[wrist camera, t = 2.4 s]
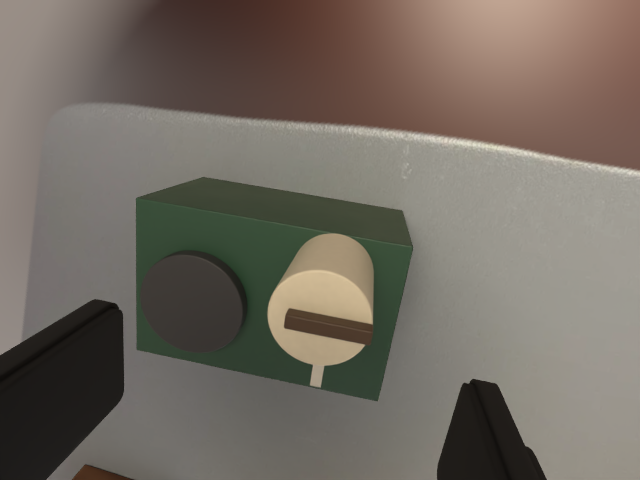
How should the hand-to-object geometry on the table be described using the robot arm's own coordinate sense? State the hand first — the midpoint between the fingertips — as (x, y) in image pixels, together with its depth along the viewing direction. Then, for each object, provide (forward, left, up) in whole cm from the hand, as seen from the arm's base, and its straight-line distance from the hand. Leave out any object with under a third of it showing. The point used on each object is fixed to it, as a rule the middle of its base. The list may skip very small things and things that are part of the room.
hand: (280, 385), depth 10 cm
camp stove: (-4, -1, -17) cm, 18 cm away
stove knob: (0, 0, -9) cm, 9 cm away
